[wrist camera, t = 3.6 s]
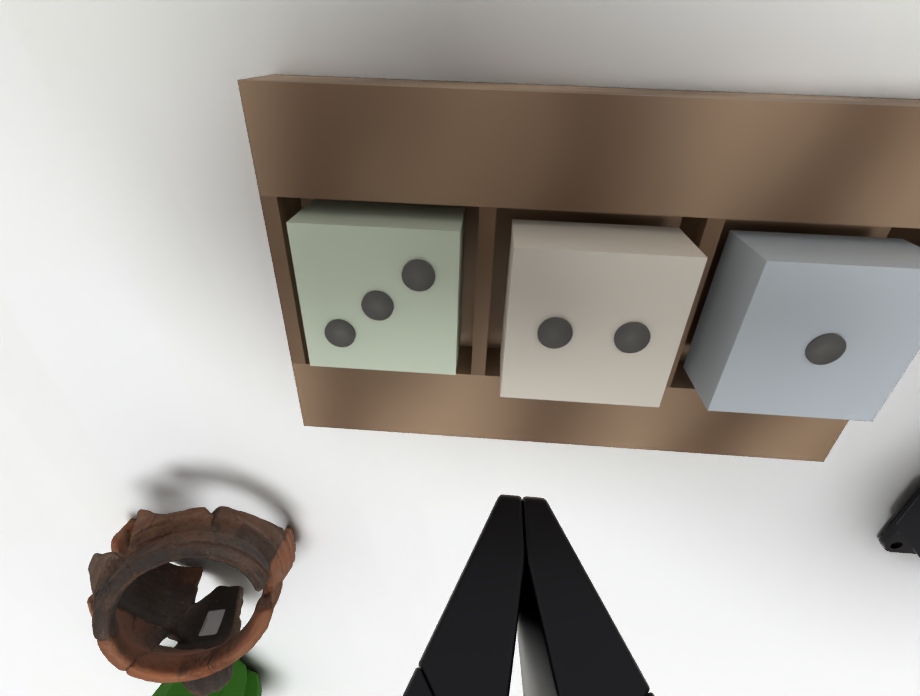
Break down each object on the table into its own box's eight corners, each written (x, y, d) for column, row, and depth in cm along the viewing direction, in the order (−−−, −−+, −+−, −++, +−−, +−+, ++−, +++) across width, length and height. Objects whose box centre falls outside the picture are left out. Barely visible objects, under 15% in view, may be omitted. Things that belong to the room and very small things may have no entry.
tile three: (465, 206, 16) (459, 232, 14) (460, 338, 18) (455, 376, 16) (313, 199, 16) (285, 223, 14) (330, 330, 19) (309, 367, 16)
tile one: (902, 238, 14) (972, 273, 12) (827, 375, 17) (874, 423, 15) (729, 230, 14) (769, 262, 12) (683, 366, 17) (708, 412, 15)
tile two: (678, 227, 15) (708, 258, 12) (640, 364, 17) (660, 409, 15) (512, 219, 15) (514, 248, 13) (499, 355, 17) (500, 399, 15)
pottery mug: (92, 477, 26) (21, 576, 19) (272, 429, 29) (273, 499, 22) (161, 646, 30) (125, 787, 22) (316, 588, 33) (330, 695, 25)
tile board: (958, 100, 14) (1037, 111, 12) (791, 419, 20) (823, 461, 18) (273, 74, 15) (237, 79, 13) (322, 388, 21) (303, 425, 19)
